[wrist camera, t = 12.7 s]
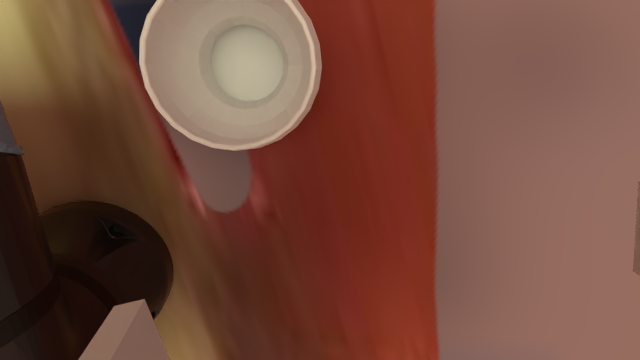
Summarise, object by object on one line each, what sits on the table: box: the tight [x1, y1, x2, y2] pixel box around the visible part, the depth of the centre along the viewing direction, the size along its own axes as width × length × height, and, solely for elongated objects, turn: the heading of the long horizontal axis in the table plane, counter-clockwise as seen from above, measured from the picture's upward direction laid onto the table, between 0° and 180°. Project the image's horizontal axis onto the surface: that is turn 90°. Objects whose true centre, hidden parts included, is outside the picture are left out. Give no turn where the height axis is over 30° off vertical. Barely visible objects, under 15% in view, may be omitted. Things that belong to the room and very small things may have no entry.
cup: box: [139, 0, 322, 151], centre depth 28 cm, size 11×11×15 cm
